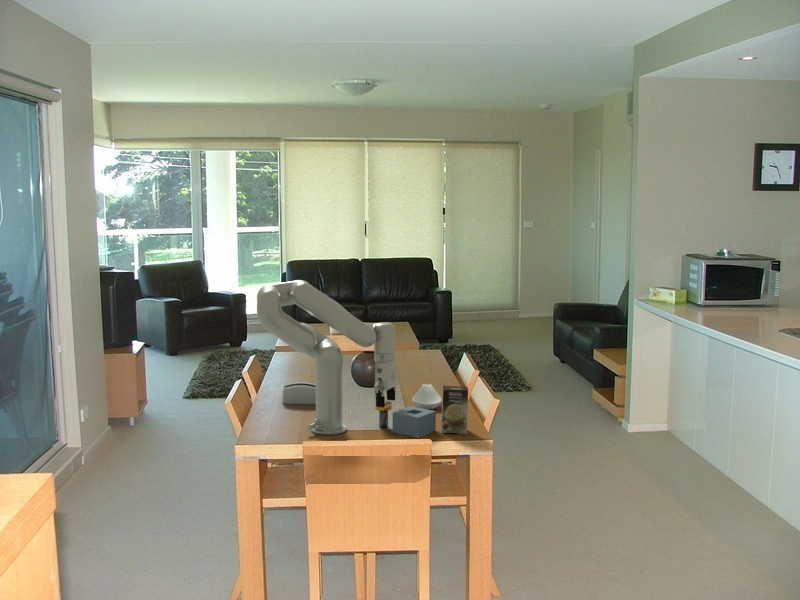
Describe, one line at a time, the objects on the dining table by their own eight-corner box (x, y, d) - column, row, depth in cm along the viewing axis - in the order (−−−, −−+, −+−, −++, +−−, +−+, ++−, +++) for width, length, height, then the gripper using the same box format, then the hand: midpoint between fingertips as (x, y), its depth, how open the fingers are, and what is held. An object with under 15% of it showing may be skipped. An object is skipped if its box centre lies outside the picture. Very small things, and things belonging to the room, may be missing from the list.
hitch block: (417, 437, 269) (417, 417, 268) (392, 432, 276) (392, 412, 275) (435, 430, 278) (435, 411, 277) (410, 425, 284) (411, 406, 283)
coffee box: (441, 434, 274) (442, 389, 272) (441, 428, 280) (442, 385, 278) (467, 434, 273) (468, 390, 272) (466, 429, 280) (467, 385, 278)
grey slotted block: (324, 401, 318) (323, 380, 313) (323, 407, 313) (322, 387, 309) (284, 400, 318) (282, 379, 314) (282, 407, 314) (280, 386, 309)
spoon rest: (442, 412, 303) (442, 394, 302) (412, 412, 303) (412, 394, 302) (440, 397, 327) (440, 381, 326) (412, 397, 327) (412, 380, 326)
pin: (384, 430, 277) (385, 406, 276) (372, 427, 281) (372, 403, 279) (395, 427, 282) (395, 403, 281) (382, 424, 285) (382, 400, 284)
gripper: (384, 362, 269) (385, 410, 271) (403, 353, 284) (404, 398, 287) (365, 361, 271) (366, 408, 274) (384, 351, 287) (385, 396, 290)
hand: (385, 403), depth 280 cm, fingers open, 9 cm apart
